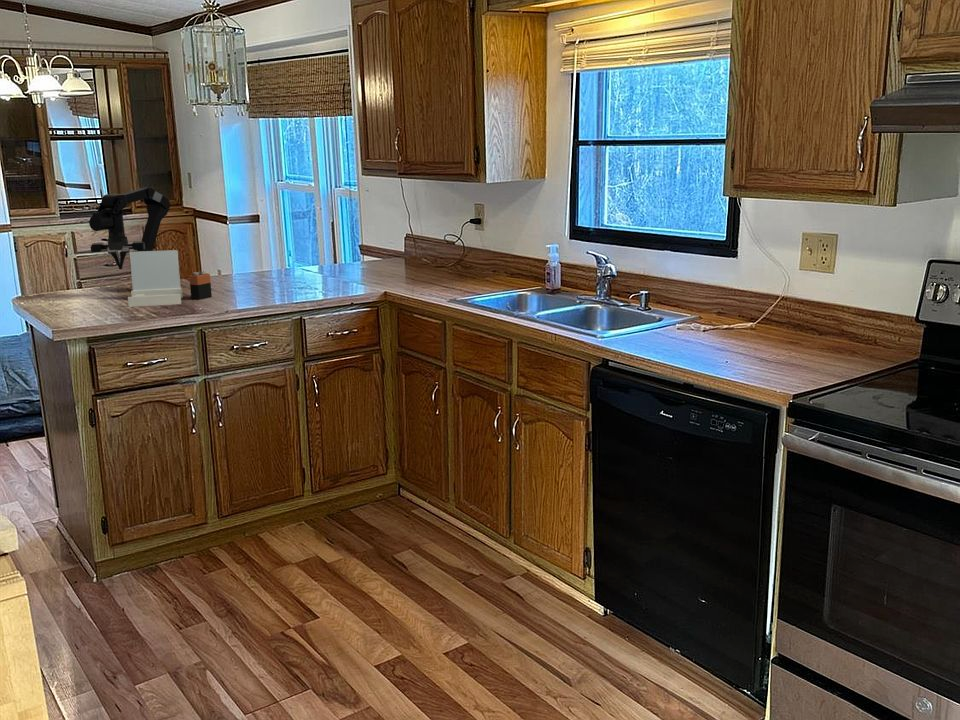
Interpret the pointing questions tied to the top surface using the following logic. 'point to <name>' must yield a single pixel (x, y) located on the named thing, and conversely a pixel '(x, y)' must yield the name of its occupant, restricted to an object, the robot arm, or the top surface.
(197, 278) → the battery
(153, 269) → the cover
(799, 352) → the top surface
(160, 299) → the white slat
